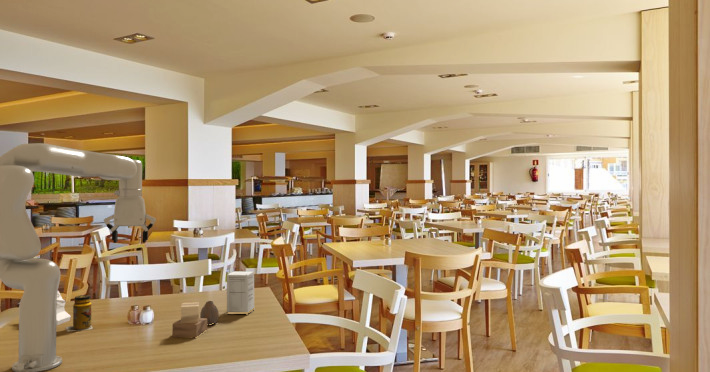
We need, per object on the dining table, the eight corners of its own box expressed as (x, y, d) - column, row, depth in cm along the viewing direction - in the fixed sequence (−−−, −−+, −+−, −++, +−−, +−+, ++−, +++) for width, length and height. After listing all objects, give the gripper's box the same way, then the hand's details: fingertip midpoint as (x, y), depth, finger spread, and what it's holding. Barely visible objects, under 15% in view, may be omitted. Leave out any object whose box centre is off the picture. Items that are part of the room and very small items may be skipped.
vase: (196, 325, 201) (196, 302, 201) (209, 321, 207) (209, 299, 207) (209, 327, 198) (209, 304, 198) (222, 323, 204) (222, 300, 204)
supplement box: (254, 310, 226) (255, 271, 226) (248, 315, 216) (248, 274, 216) (233, 309, 227) (233, 270, 227) (225, 314, 217) (226, 274, 217)
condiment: (93, 329, 194) (93, 296, 194) (67, 332, 189) (67, 299, 189) (90, 324, 200) (91, 293, 200) (65, 327, 195) (66, 295, 196)
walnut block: (196, 339, 183) (196, 324, 183) (172, 337, 185) (172, 323, 185) (207, 332, 192) (207, 318, 192) (184, 330, 194) (184, 317, 194)
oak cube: (198, 322, 186) (198, 305, 186) (180, 323, 185) (181, 306, 185) (198, 318, 192) (199, 302, 192) (181, 319, 190) (182, 303, 190)
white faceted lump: (53, 320, 212) (64, 285, 215) (72, 329, 204) (83, 293, 206) (21, 318, 202) (33, 282, 204) (39, 328, 194) (51, 290, 196)
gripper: (101, 194, 180) (101, 243, 180) (154, 194, 184) (154, 243, 184) (106, 194, 187) (106, 241, 187) (157, 194, 191) (157, 240, 191)
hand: (130, 242), depth 186 cm, fingers open, 9 cm apart
